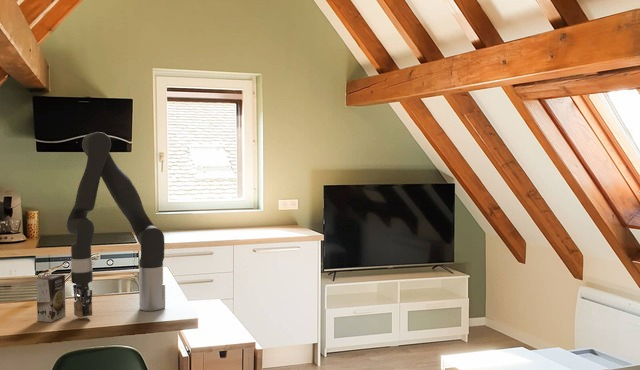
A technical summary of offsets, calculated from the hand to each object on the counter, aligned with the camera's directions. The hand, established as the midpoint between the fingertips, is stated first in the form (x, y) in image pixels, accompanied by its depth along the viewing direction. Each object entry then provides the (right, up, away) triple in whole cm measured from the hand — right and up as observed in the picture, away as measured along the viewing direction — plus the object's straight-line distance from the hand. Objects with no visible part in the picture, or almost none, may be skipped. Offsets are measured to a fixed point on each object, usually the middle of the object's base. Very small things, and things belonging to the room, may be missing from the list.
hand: (83, 313), depth 246 cm
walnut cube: (0, 0, 0) cm, 0 cm away
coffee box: (-12, -2, 0) cm, 12 cm away
